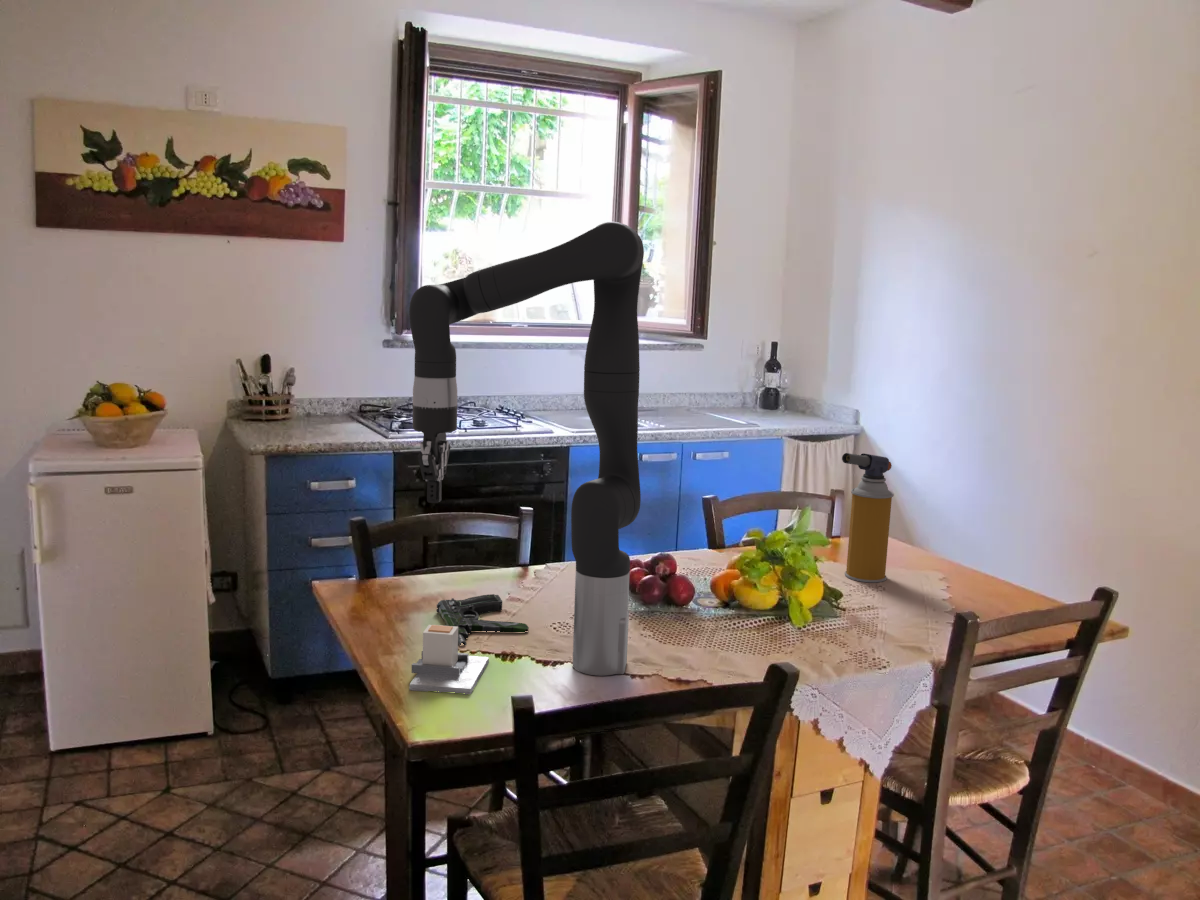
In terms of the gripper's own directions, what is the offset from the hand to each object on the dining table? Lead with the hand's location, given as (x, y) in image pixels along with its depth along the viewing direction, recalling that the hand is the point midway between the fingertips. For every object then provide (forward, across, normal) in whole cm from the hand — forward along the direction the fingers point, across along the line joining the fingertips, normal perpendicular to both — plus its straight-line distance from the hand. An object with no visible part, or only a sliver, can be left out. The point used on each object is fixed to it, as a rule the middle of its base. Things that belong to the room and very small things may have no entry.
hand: (434, 501), depth 180 cm
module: (+25, -10, -4) cm, 28 cm away
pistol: (+28, +15, -6) cm, 32 cm away
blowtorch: (+27, +63, -83) cm, 108 cm away
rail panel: (+27, -11, -6) cm, 30 cm away
